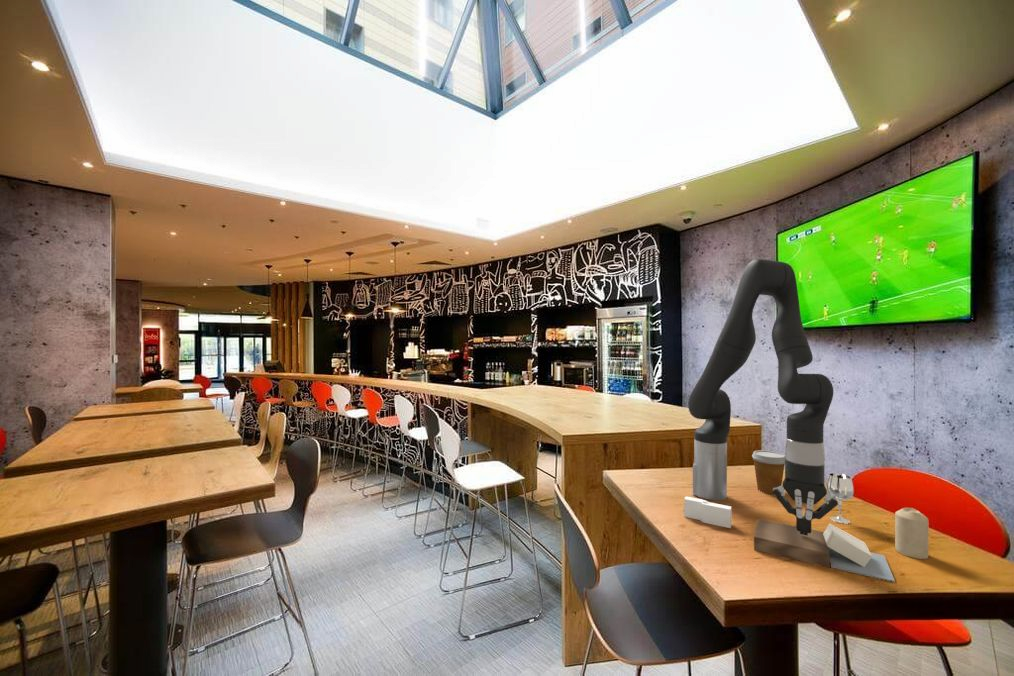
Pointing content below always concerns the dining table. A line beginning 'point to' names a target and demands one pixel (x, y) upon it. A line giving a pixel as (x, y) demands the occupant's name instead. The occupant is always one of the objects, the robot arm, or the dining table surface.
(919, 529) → the candle
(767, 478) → the disposable coffee cup
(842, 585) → the dining table surface
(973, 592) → the dining table surface
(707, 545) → the dining table surface
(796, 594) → the dining table surface
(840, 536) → the white block
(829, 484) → the wineglass
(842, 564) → the mat
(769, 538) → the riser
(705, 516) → the napkin holder
